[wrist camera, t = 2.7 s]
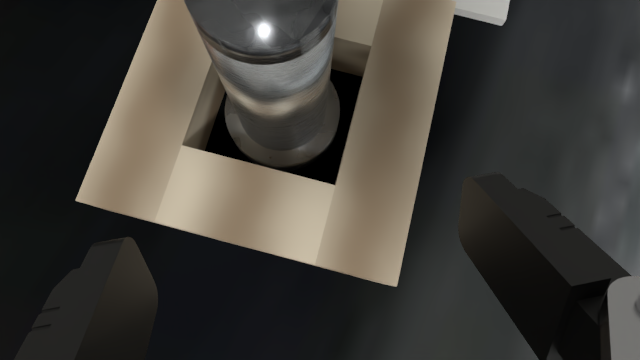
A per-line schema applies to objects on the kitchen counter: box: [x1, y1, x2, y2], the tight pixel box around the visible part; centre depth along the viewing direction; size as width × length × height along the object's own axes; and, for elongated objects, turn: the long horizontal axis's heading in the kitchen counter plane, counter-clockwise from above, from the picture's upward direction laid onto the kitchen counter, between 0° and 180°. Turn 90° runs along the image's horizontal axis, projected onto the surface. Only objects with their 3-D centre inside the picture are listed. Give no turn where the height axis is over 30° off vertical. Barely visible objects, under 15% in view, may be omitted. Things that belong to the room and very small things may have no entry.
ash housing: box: [75, 0, 456, 287], centre depth 22 cm, size 16×16×4 cm
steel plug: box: [184, 0, 340, 171], centre depth 18 cm, size 7×7×12 cm
